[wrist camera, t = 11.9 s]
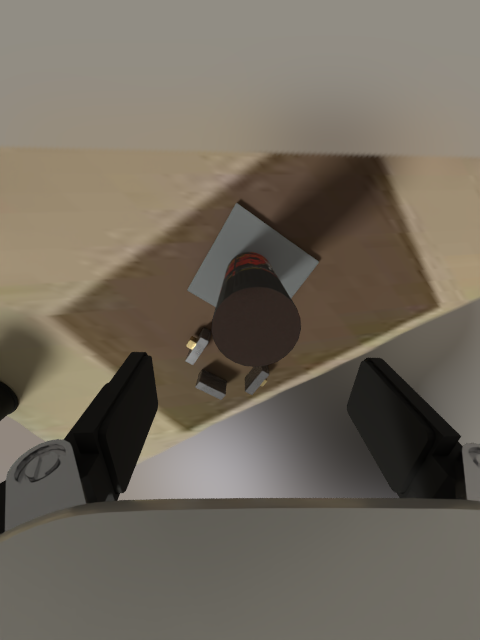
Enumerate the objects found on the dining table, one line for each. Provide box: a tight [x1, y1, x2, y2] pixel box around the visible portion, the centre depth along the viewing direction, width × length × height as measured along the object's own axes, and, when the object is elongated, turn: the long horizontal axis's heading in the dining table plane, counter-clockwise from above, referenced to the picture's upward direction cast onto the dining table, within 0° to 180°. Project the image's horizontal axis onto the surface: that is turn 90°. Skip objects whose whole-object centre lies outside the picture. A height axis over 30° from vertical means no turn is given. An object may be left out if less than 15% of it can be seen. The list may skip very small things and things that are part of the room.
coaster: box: [187, 203, 319, 307], centre depth 29 cm, size 12×12×1 cm
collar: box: [186, 327, 269, 400], centre depth 33 cm, size 13×11×3 cm
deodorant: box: [212, 252, 301, 367], centre depth 22 cm, size 6×6×15 cm
